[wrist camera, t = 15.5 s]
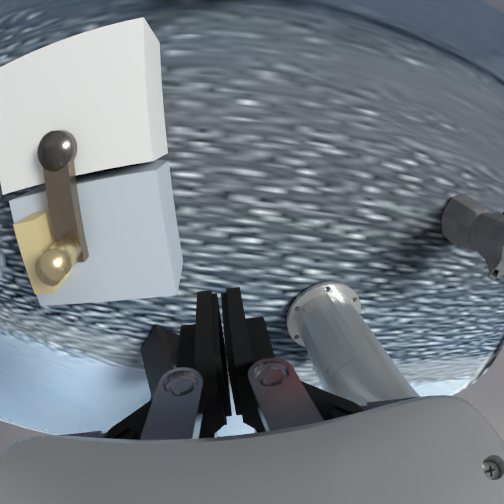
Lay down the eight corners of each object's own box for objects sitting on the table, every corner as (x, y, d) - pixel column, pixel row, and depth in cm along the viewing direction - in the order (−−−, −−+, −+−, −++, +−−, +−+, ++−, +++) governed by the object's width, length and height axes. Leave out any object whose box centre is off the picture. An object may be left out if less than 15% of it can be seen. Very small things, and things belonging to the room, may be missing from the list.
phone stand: (141, 347, 47) (128, 401, 36) (155, 323, 46) (144, 377, 35) (188, 369, 50) (185, 423, 39) (205, 347, 48) (206, 402, 37)
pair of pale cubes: (183, 262, 42) (173, 317, 30) (65, 274, 41) (26, 325, 28) (159, 42, 30) (135, 5, 18) (32, 78, 29) (-26, 69, 16)
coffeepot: (440, 259, 48) (506, 309, 32) (425, 218, 45) (502, 263, 28) (489, 211, 46) (557, 246, 29) (479, 171, 42) (555, 198, 26)
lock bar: (43, 134, 24) (7, 139, 18) (75, 126, 24) (43, 128, 18) (62, 258, 29) (36, 286, 23) (93, 256, 29) (70, 285, 23)
